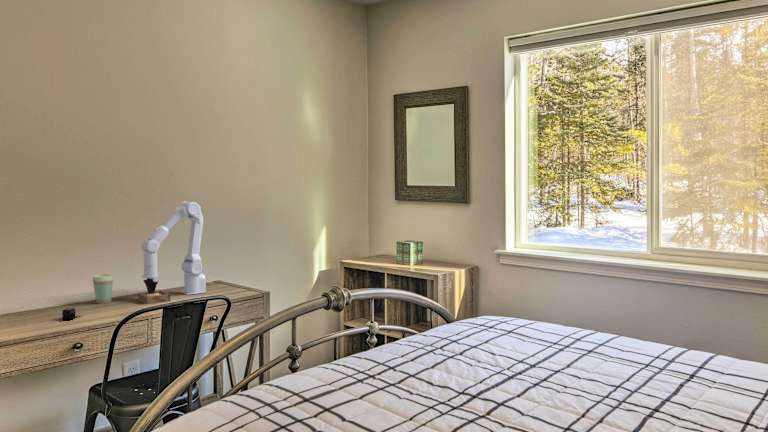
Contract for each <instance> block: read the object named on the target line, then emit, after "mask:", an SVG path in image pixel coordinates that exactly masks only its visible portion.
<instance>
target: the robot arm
mask: <svg viewBox="0 0 768 432" xmlns="http://www.w3.org/2000/svg"><path fill="white" fill-rule="evenodd" d="M186 217H187V218H188V219H189V221H190V222H191V223H190V224H191V225H190V232H189V239H188V247H187V254H186V255H185V256H184V260H183V262H182V263H181V269H182V271H183V274H184V284H183V285H184V290H182V291H181V293H183V294H184V295H187V296H188V295H195V294H196V295H197V294H205V293H206V294H207V285H206V284H207V281H206V279H207V278H206V276H205V274H204V273H202V271H203V264H202V257H201V256H200V253H201V252H200V251H201V244H202V234H203V227H204V216H203V213H202V207H201V206H200V204H199V203H198V202H195V201H181V202H180V203H179V205H177V206H176V207H175V209H174V211H173V212H172V213H171V215H170V216H169V217H168V218H167V220H166V221H165V222H164V223H163V225H159V226H158V227H157V226H156V227H155V228H154V231H153V232H152V234H151V235H149V236H148V237H147V238H146V239H144V240H143V242H142V243H141V245H140V248H141V250H142V251H143V275H141V278H142V279H143V278H145V279H143V283H144V284H145V287H146V291H147V294H153V293H156V288H157V285H158V284H159V275H158V251H159V249H160V246H161V244H162V243H163V242H164V240H165V239H167V237H168V235H169V233H170V232H169V231H170V230H171V229H172V227H173V226H174V225H176V223H177V222H178V221H180V219H183V218H186Z"/></svg>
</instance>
